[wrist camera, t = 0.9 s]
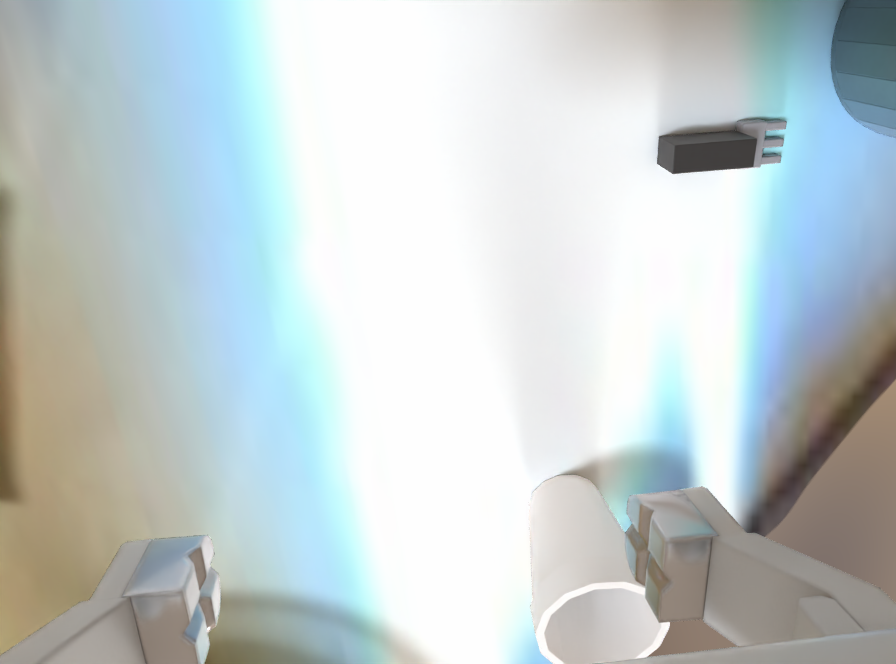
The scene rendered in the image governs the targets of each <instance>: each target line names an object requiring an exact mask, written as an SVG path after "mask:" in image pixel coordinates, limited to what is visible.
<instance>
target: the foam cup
mask: <svg viewBox="0 0 896 664" xmlns="http://www.w3.org/2000/svg"><path fill="white" fill-rule="evenodd" d="M529 530H530V554H531V578H532V602H531V605H530V609H531V614H532V619H533V624H534V630H535V634H536V638H537V642H538V645H539V649H540V652H541V654H542V655H544V656H545V657H546V658H547V659H548V660H550V661H551V662H552V663H553V664H595V663H604V662H612V661H621V660H629V659H638V658H646V657H647V656H648V655H649V654H651V653H652V652H653V651H655V650H656V649H657V648H658V647H659V646H660V645H661V643H662V641H663V639H664V637H665V635H666V633H667V631H668V629H669V627H670V624H669V622H664V623H659V622H658V620H657V619H656V617H655V615H654V613H653V611H652V610H651V608H650V606H649V604H648V603H647V601H646V599H645V586H643V585H642V584H640V583H638V582H637V581H635V579H634V577H633V575H632V573H631V571H630V568H629V565H628V563H627V558H626V551H625V533H624V531H623V529H622V528H621V526H620V524H619V523H618V521H617V519H616V518H615V516H614V514H613V513H612V511H611V509H610V508H609V506H608V504H607V503H606V501H605V499H604V498H603V496H602V494H601V493H600V492H599V490H598V488H597V487H596V486H595V485H594V484H593V483H592V482H591V481H590V480H589V479H586V478H583V477H580V476H577V475H558V476H556V477H554V478H551V479H549V480H546V481H544V482H543V483H542V484H541V485H540V486H539V487H538V488H537V489H536V490H535V491H534V492H533V493H532V496H531V499H530V502H529Z"/></svg>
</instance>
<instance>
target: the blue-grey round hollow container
mask: <svg viewBox="0 0 896 664" xmlns="http://www.w3.org/2000/svg"><path fill="white" fill-rule="evenodd" d="M831 71H832V78H833V83H834V86H835V90H836V93H837V95H838V97H839V99H840V102H841V103H842V105H843V106H844V108H845V109H846V111H847V112H848V113H849V114H850V115H851V116H852V117H853V118H854V119H855V120H856V121H857V122H858V123H860V124H861V125H863V126H864V127H866V128H868V129H870V130H872V131H874V132H876V133H879V134H883V135H886V136H890V137H893V138H896V0H846V2H845V4H844V6H843V8H842V10H841V13H840V16H839V19H838V21H837V24H836V28H835V32H834V36H833V41H832V50H831Z"/></svg>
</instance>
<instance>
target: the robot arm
mask: <svg viewBox="0 0 896 664" xmlns="http://www.w3.org/2000/svg"><path fill="white" fill-rule="evenodd" d="M627 515H628V517H629V518H630V520H631V522H632V525H631V526H630V527H629V528H628V530H627V531H626V532H625V551H626V558H627V563H628V565H629V568H630V571H631V573H632V575H633V577H634V579H635V581H637V582H638V583H640V584H642V585H643V586H645V599H646V601H647V603H648V604H649V606H650V608H651V610H652V611H653V613H654V615H655V617H656V619H657V620H658V622H659V623H664V622H676V621H688V620H699V619H703V622H705V623H706V624H708V625H709V626H710V627H712V628H713V629H715V630H716V631H717V632H719V633H720V634H721V635H723V636H724V637H725V638H727V639H729V640H730V641H731V642H732V643H734V644H735V645H736V646H738V647H731V648H722V649H714V650H705V651H698V652H689V653H681V654H672V655H664V656H655V657H647V658H638V659H629V660H621V661H612V662H604V663H595V664H896V603H895V602H894V601H893V600H892V599H891V598H890V597H889V596H888V595H887V594H886V593H885V592H884V591H883V590H881V588H879V587H877V586H874V585H872V584H870V583H868V582H865V581H863V580H861V579H859V578H856V577H854V576H852V575H849V574H847V573H845V572H843V571H840V570H838V569H836V568H834V567H831V566H829V565H827V564H824V563H822V562H820V561H818V560H815V559H813V558H811V557H808V556H806V555H804V554H801V553H799V552H797V551H795V550H792V549H790V548H788V547H785V546H783V545H781V544H779V543H776V542H774V541H772V540H769V539H767V538H765V537H763V536H760V535H758V534H756V533H746V532H745V531H744V530H743V528H742V527H741V526H740V525H739V524H738V523H737V522H736V521H735V519H734V518H733V517H732V516H731V515H730V514H729V513H728V512H727V510H726V509H725V508H724V507H723V506H722V505H721V504H720V502H719V501H718V500H717V499H716V498H715V497H714V496H713V495H712V493H711V492H710V491H709V490H708V489H707V488H705V487H702V486H701V487H693V488H685V489H678V490H674V491H665V492H656V493H647V494H638V495H630V496H629V499H628V502H627ZM214 555H215V552H214V548H213V543H212V539H211V538H210V537H209V536H208V535H199V536H186V537H172V538H159V539H154V540H153V539H146V540H136V541H127V542H125V543H124V544H122V545H121V546H120V548H119V550H118V551H117V553H116V555H115V557H114V558H113V560H112V562H111V563H110V565H109V567H108V568H107V570H106V572H105V574H104V575H103V577H102V579H101V580H100V582H99V584H98V586H97V587H96V589H95V591H94V592H93V594H92V596H91V597H90V599H89V601H82V602H79V603H77V604H76V605H74V606H73V607H71V608H70V609H68V610H67V611H66V612H64V613H63V614H61V615H60V616H58V617H57V618H55V619H54V620H52V621H51V622H49V623H48V624H46V625H45V626H43V627H42V628H40V629H39V630H37V631H36V632H34V633H33V634H31V635H30V636H28V637H27V638H25V639H24V640H22V641H21V642H19V643H18V644H16V645H15V646H13V647H12V648H10V649H9V650H7V651H6V652H4V653H3V654H2V655H0V664H204V663H205V660H206V657H207V653H208V650H209V647H210V642H209V637H208V633H209V632H210V631H211V630H212V629H213V628H214V627H215V626H216V624H217V621H218V617H219V613H220V604H221V586H220V579H219V573H217V572H216V571H215V570H214V569H213V568H212V567H211V563H212V560H213V557H214Z"/></svg>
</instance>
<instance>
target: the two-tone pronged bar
mask: <svg viewBox="0 0 896 664" xmlns="http://www.w3.org/2000/svg"><path fill="white" fill-rule="evenodd" d="M786 123H787V122H786V121H783V120H772V121H763V120H760V119H757V120H745V121H737V124H736V130H734V131H722V132H710V133H698V134H686V135H674V136H662V137H659V145H658V159H657V164H659V165H660V166H662V167H663V168H665V169H666V170H668V171H669V172H671V173H672V174H679V173H691V172H703V171H715V170H727V169H749V168H759V167H760V166H761V165H763V164H775V163H780V161H781V156H780V155H778V154H763V155H762V152H763V148H769V147H781V146H783V142H784V139H783V138H780V137H770V138H765V132H766V131H770V130H782V129H786Z"/></svg>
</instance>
